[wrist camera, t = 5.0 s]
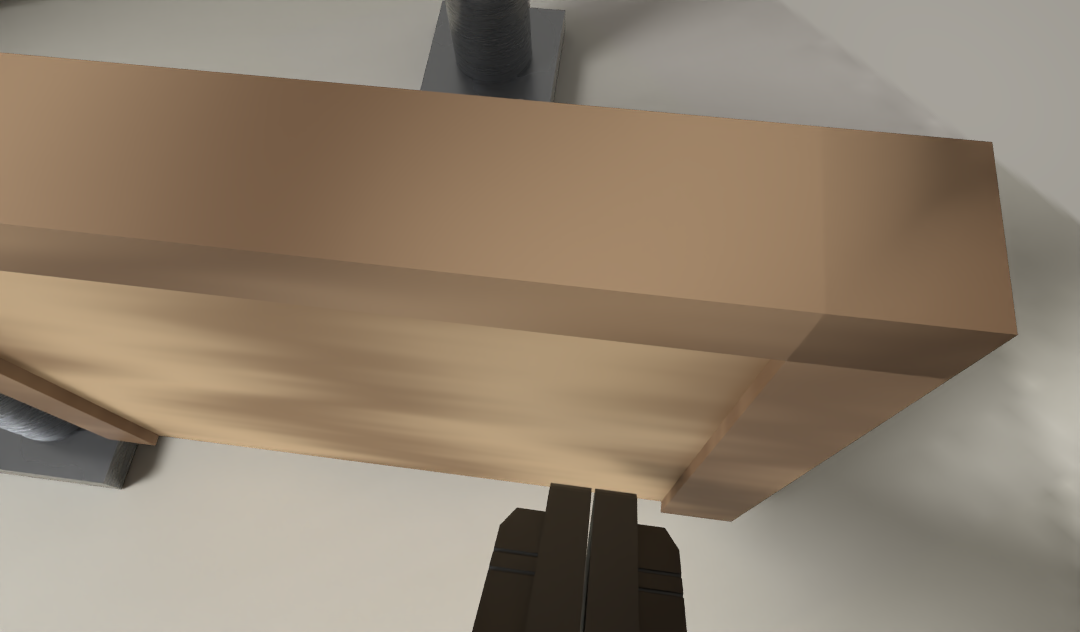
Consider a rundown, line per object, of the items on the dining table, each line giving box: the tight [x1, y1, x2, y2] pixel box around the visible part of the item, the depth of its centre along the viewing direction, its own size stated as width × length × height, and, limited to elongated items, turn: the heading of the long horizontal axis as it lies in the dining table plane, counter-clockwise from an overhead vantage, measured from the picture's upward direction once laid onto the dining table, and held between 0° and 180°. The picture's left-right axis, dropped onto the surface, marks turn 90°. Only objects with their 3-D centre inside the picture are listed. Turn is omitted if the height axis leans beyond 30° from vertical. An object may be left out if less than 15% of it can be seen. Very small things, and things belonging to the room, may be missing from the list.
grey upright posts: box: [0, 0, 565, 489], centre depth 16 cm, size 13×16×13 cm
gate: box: [0, 53, 1018, 522], centre depth 12 cm, size 15×2×11 cm, turn 82°
